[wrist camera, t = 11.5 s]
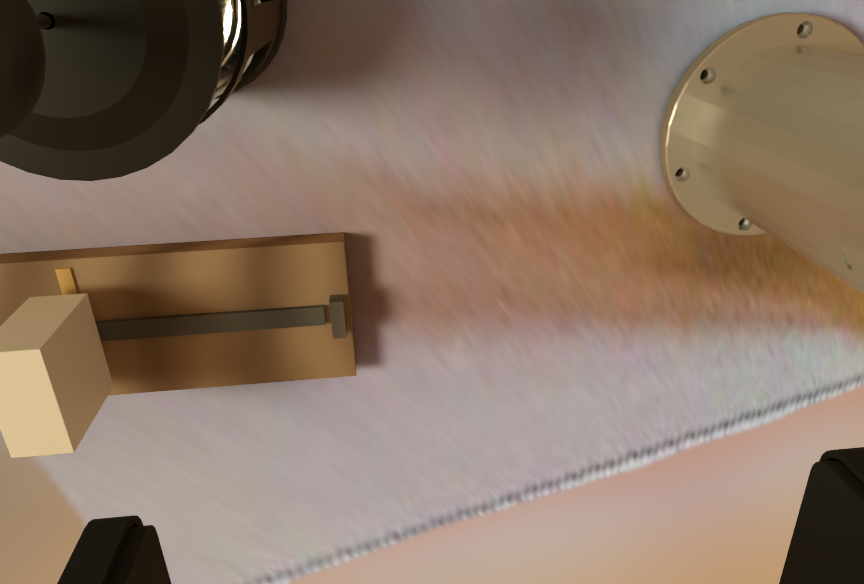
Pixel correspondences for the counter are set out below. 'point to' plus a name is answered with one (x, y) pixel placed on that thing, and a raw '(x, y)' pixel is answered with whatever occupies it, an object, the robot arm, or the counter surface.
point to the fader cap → (50, 375)
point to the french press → (121, 77)
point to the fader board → (204, 308)
